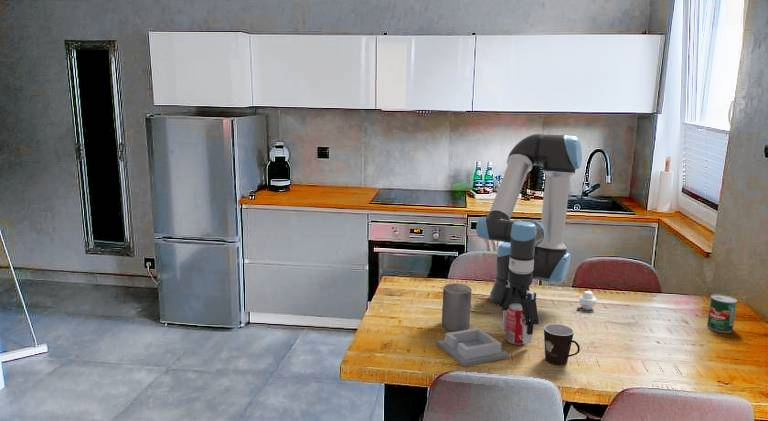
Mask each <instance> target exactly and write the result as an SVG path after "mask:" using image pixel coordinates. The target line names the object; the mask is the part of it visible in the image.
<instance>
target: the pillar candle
mask: <svg viewBox="0 0 768 421" xmlns="http://www.w3.org/2000/svg"><path fill="white" fill-rule="evenodd" d="M472 290H473V289H472V288H471V287H470V285H468V284H463V283H448V284H445V285H444V286H443V290H442V307H441V308H442V309H441V310H442V311H441V326H442V328H444V329H446V330H449V331H451V332H457V331H463V330H469V328H470V326H471V325H470V324H471V310H472V309H471V308H472V302H471V301H472Z"/></svg>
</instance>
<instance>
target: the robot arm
mask: <svg viewBox="0 0 768 421" xmlns="http://www.w3.org/2000/svg"><path fill="white" fill-rule="evenodd" d="M582 151H583V150H582V145H581V141H580V139H579V137H577V136H575V135H567V134H564V135H563V134H542V133H535V134H530V135H528V136H525V137H524V138H523V139H521V140H520V141H519V142H518V143H516V144H515V145H514V147H513V148H511V151H510V152H509V154H508V156H507V159H506V164H507V166H506V169H505V170H504V174H503V176H502V179H501V181H500V184H499V187H498V189H497V192H496V194H495V197H494V199H493V202H492V204H491V207H490V210H489V211H488V215H487V216H479V218H478V220H477V222H476V228H475V231H476V232H475V233H476V236H477V237H478V238H480V239H484V240H487V241H494V242H495V241H496V242H502V243H500V244H499V245H498V246H497V250H496V251H497V253H496V265H495V266H496V267H495V280H494V283H493V286H492V288H491V291H490V293H489V294H490V295H489V301H490V302H492V303H493V304H496V305H497V306H499V307H501V310H502V311H501V312H502V314H501V315H502V320H501V321H502V322H501V330H502V331H504V330H505V329H506V315H507V310H508V308H509V305H510V304H514V303H518V304H521V306H522V310H523V313H524V317H525V321H526V323H525V324H524V334H523V344H524V345H526V344H527V345H528V344H532V340H533V333H534V326H535V325H539V324H540V323H539V314H538V307H537V293H536V292H532V291H531V290H530V287H531V285H532V284H533V280H537V281H542V282H547V283H554V284H561V283H562V282H564V281H565V279H566V277H567V275H568V272H569V269H570V264H571V258H572V257H571V253H570V252H567V250H568V247H567V246H566V245H565V243H564V240H565V239H564V236H565V227H566V221H567V220H566V219H567V218H566V217H567V210H568V203H569V202H568V201H569V200H568V199H569V192H570V191H569V190H570V182H571V179H572V177H573V176H574V175H575V174H576V170H578V169H579V170H580V168H581V166H582V156H583V154H582V153H583V152H582ZM533 166H538V167H542V169H541V171H542V173H543V174H544V175H545V179H544V180H545V181H544V190H543V191H544V192H543V200H542V210H541V218H540V221H537V220H531V221H526V220H522V221H520V220H519V221H518V220H511V218H512V215H513V213H514V210H515V208H516V205H517V201H518V199H519V196H520V193H521V191H522V188H523V187H524V186H523V185H524V183H525V181H526V178H527V175H528V173H529V172H530V171H532V169H533ZM523 344H522V345H523Z"/></svg>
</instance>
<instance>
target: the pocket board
mask: <svg viewBox="0 0 768 421" xmlns="http://www.w3.org/2000/svg"><path fill="white" fill-rule="evenodd" d="M444 334H445V336H444V337H445V338H444V339H441V340H440V339H439V340H437V346H438V347H440V348H441V349H443V351H444V352H446V353H447V354H448V355H449V356H450V357H452V359H454V360H455V361H456V362H457V363H459V364H460V365H461V366H462V367H468V366H474V365H479V364H484V363H489V362H494V361H498V360H504V359H509V358H510V354H509V353H508V352H507V351H505V350H504V349H502V342H500V341H499V340H498V339H496V338H494V337H493V335H491V334H489V333H487V332H486V331H485V330H483V329H482V328H480V327H476V328H471V329H469V328H468V329H465V330H463V331H451V332H447V333H444Z"/></svg>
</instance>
